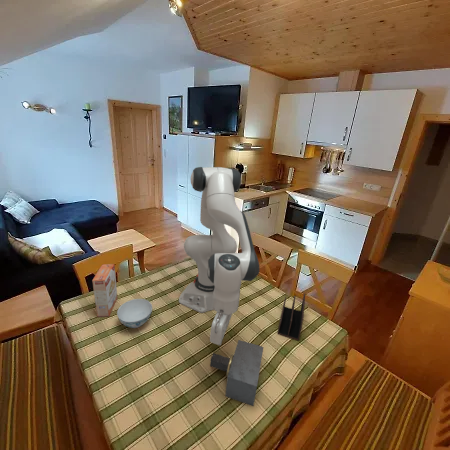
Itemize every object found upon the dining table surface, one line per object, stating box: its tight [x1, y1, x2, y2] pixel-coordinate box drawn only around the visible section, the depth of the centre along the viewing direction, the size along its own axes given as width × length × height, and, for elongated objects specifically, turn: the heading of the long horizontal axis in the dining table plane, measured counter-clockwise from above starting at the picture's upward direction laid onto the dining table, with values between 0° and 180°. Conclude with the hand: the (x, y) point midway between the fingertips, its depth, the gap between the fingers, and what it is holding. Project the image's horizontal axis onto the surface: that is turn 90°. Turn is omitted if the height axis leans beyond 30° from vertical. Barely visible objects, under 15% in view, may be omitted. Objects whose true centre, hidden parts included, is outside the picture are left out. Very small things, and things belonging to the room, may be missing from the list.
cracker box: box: [91, 263, 118, 318], centre depth 115 cm, size 14×6×21 cm, turn 8°
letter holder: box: [276, 293, 306, 342], centre depth 115 cm, size 10×20×14 cm, turn 160°
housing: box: [225, 339, 264, 407], centre depth 87 cm, size 10×16×10 cm, turn 164°
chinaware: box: [116, 298, 153, 329], centre depth 109 cm, size 15×15×8 cm
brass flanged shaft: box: [209, 352, 234, 377], centre depth 88 cm, size 15×7×7 cm, turn 74°
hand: (222, 332), depth 84 cm, fingers open, 8 cm apart
